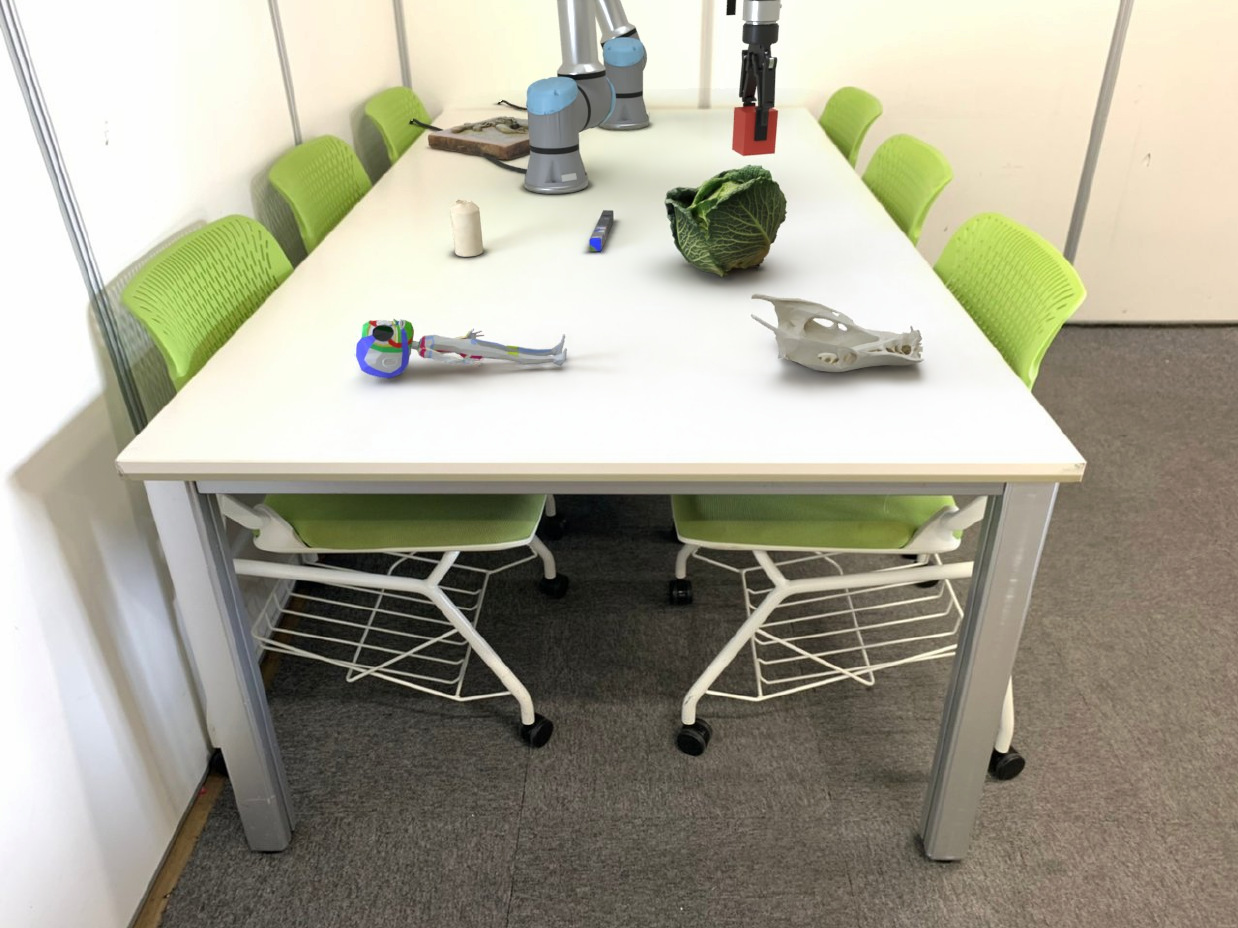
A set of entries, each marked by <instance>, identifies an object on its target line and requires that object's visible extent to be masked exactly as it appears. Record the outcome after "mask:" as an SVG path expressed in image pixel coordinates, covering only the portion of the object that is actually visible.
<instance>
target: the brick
mask: <svg viewBox="0 0 1238 928" xmlns="http://www.w3.org/2000/svg"><path fill="white" fill-rule="evenodd" d="M755 107H758V105H756V106H746V107H743V106H735V107H734V108H733V124H732V125H733V126H732V141H731V142H732V145H731V150H732V151H734V152H735V153H737V154H739V155H740V156H742V157H750V156H761V155H775V154H776V143H777V132H778V130H777V129H778V117H779V110H778V109H775V108H770V109H769V116H768V130H767V140H765V141H754V132H755V117H756V110H755Z"/></svg>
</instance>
